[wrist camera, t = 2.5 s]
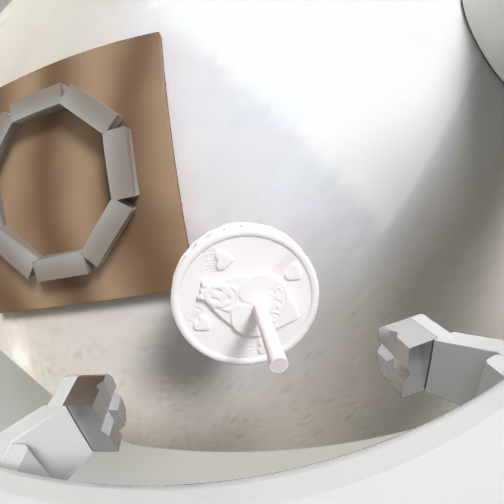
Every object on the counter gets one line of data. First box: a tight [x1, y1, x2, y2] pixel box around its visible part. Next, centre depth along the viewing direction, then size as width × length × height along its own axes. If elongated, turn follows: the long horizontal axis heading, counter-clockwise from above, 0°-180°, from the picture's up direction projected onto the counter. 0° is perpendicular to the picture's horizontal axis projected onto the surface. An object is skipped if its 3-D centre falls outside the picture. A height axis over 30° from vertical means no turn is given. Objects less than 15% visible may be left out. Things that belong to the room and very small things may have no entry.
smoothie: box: [171, 222, 319, 373], centre depth 16 cm, size 6×6×14 cm
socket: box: [0, 32, 189, 313], centre depth 18 cm, size 18×18×3 cm
